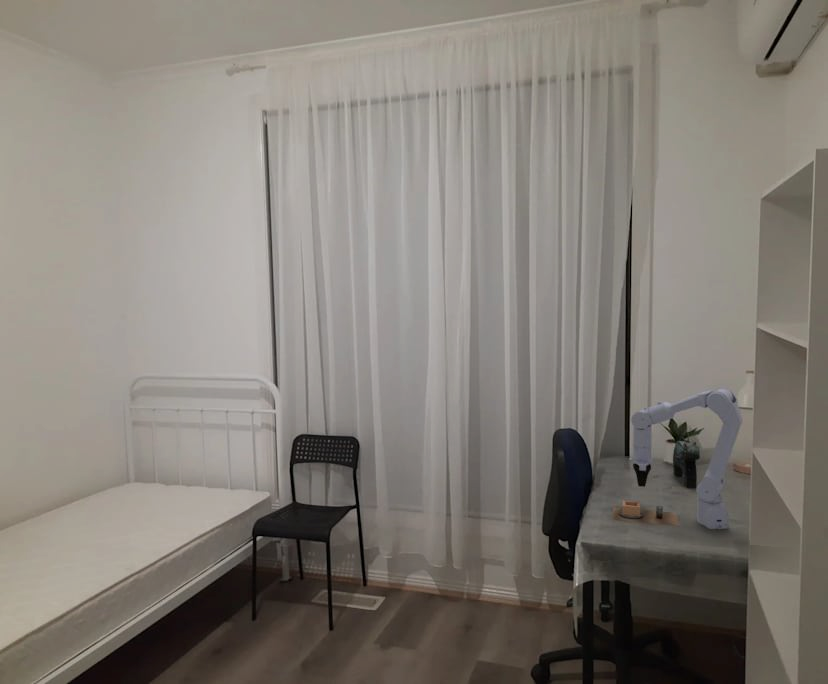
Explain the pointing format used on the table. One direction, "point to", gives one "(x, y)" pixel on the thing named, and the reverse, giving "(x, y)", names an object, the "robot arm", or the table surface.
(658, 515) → the stand rod
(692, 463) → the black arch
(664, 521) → the walnut board
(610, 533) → the table surface
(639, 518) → the hub
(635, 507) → the collar
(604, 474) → the table surface
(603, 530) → the table surface
